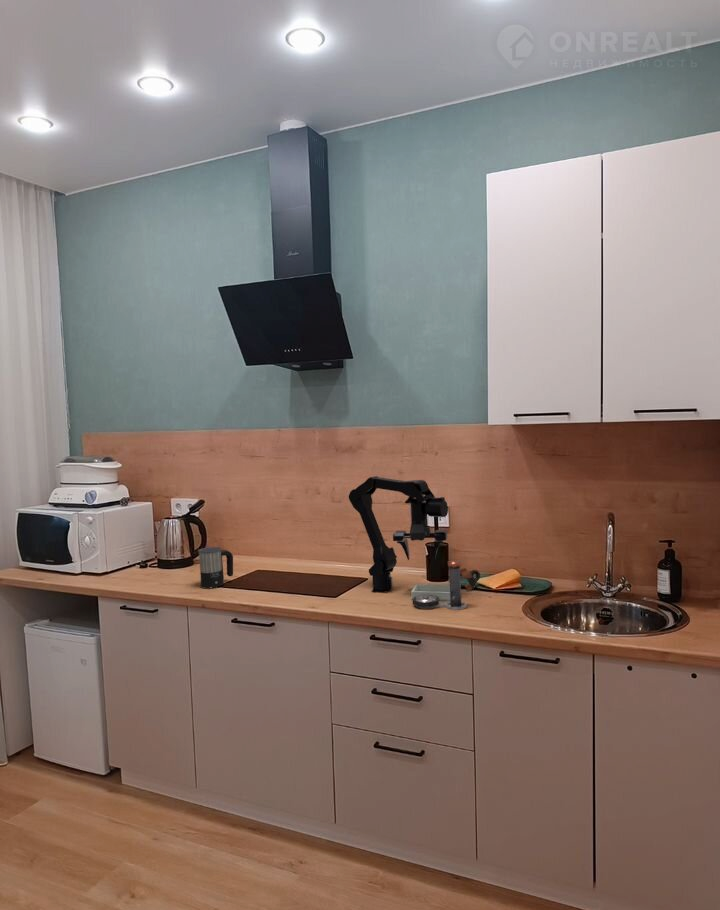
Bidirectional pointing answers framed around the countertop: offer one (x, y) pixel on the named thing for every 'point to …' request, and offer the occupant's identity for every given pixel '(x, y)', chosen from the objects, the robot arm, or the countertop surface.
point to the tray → (432, 591)
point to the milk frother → (214, 566)
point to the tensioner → (433, 603)
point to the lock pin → (455, 583)
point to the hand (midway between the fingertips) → (421, 559)
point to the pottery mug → (469, 578)
